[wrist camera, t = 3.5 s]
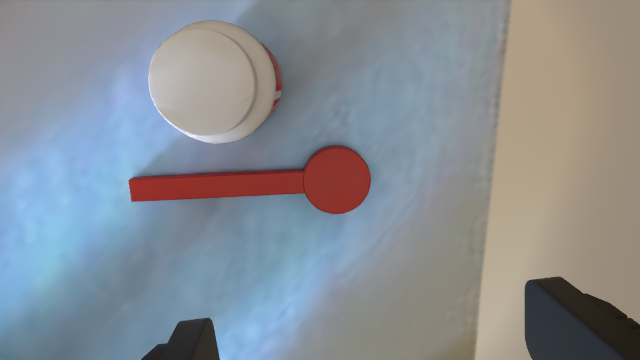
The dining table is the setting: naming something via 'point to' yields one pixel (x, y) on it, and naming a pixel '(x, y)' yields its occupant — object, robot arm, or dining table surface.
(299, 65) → the dining table surface
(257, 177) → the spoon
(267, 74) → the pill bottle
